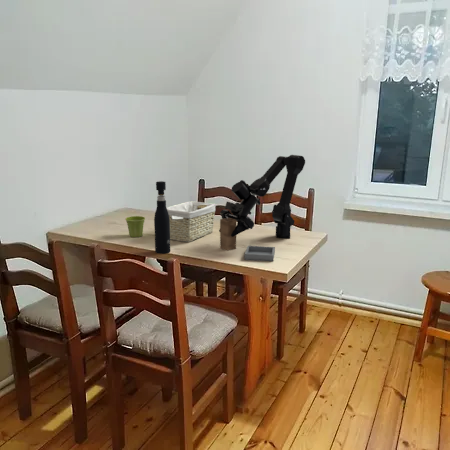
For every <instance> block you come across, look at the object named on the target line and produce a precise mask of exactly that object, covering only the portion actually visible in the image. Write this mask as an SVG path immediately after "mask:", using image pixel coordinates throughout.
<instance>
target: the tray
mask: <svg viewBox="0 0 450 450" xmlns="http://www.w3.org/2000/svg"><path fill="white" fill-rule="evenodd" d="M275 251H276V246H264V245H262V246H261V245H260V246H259V245H258V246H257V245H247V247H246V249H245V252H244V260H245V261H258V262H260V261H261V262H274V258H275V255H276V254H275V253H276V252H275Z"/></svg>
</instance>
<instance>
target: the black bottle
mask: <svg viewBox="0 0 450 450" xmlns="http://www.w3.org/2000/svg"><path fill="white" fill-rule="evenodd" d="M166 187H167V185H166V181H164V180H163V181H162V180H161V181H160V180H159V181H156V182H155V188H156V191H157V200H156V209H155V212H154V217H153V218H154V219H153V221H154V223H153V225H154V250H155V253H156V254H159V255H165V254H169V253H171V239H170V218H169V214H168V211H167V201H166V196H165V191H166Z"/></svg>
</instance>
